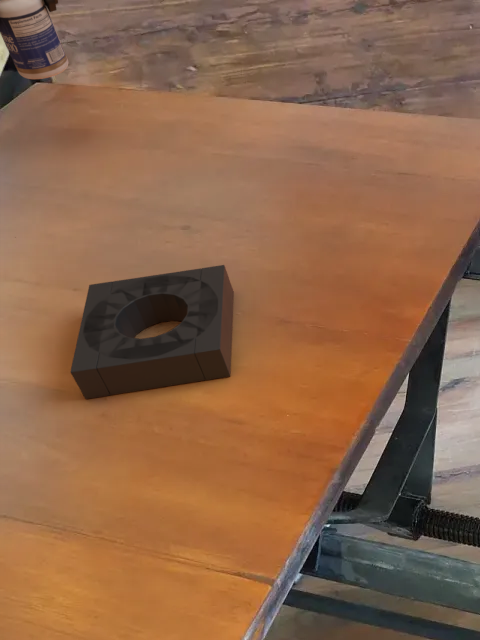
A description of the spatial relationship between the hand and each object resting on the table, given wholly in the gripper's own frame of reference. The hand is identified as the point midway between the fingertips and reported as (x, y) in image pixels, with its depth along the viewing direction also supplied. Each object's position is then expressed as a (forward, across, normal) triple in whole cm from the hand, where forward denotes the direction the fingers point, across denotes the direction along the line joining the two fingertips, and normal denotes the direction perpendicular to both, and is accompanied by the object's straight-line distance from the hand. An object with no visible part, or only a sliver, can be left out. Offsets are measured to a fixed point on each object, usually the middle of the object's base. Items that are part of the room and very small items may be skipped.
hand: (24, 14), depth 92 cm
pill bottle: (+3, 0, +6) cm, 7 cm away
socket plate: (+39, -6, -19) cm, 44 cm away
